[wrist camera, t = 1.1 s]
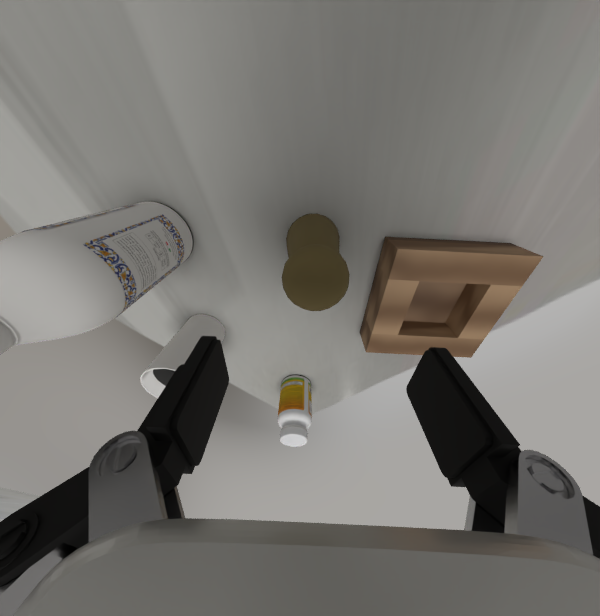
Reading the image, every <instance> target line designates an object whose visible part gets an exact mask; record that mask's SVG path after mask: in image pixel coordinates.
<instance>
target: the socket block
mask: <svg viewBox="0 0 600 616" xmlns="http://www.w3.org/2000/svg"><path fill="white" fill-rule="evenodd" d="M542 258H543V256H541V255H538V254H536V253H533V252H531V251H528V250H526V249H524V248H521V247H519V246H516V245H514V244H511V243H495V242H476V241H456V240H437V239H418V238H399V237H385V240H384V244H383V247H382V251H381V255H380V259H379V262H378V266H377V270H376V274H375V277H374V281H373V285H372V289H371V292H370V296H369V300H368V304H367V307H366V311H365V315H364V319H363V322H362V326H361V330H360V334H361V338H362V341H363V344H364V347H365V350H366V352H373V353H393V354H412V355H423V354H424V352H425V351H426V350H428V349H429V348H430V347H439V348H446V349H447V350H448V351H449V352H450V353H451V355H452V356H453V357H472V355H473V354H474V353H475V351H476V350H477V348H478V347H479V346H480V344H481V343H482V341H483V340H484V338H485V337H486V336H487V335H488V333H489V332H490V330H491V329H492V328H493V326H494V325H495V323H496V322H497V321H498V319H499V318H500V316H501V315H502V314H503V312H504V311H505V309H506V308H507V307H508V305H509V304H510V302H511V301H512V300H513V298H514V297H515V295H516V294H517V293H518V291H519V290H520V288H521V287H522V286H523V284H524V283H525V281H526V280H527V279H528V277H529V276H530V274H531V273H532V272H533V270H534V269H535V267H536V266H537V265H538V263H539V262H540V261H541V259H542Z"/></svg>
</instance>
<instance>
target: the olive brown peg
mask: <svg viewBox="0 0 600 616" xmlns="http://www.w3.org/2000/svg"><path fill="white" fill-rule="evenodd" d="M286 241H287V250H288V257H289V259H288V260H287V262H286V263H285V266H284V270H283V274H282V283H283V288H284V290H285V293H286V295H287V297H288V298H289V299H290V300H291V301H292V302H293V303H294V304H295V305H297V306H299V307H301V308H303V309H306V310H310V311H321V310H325V309H328V308H330V307H332V306H333V305H335V304H337V303H338V302H339V301H340V300H341V299H342V298H343V296H344V295H345V293H346V291H347V288H348V285H349V271H348V267H347V264H346V262H345V260H344V259H343V258H342V256H341V255H340V254H339V233H338V230H337V228H336V226H335V225H334V223H333V222H332V221H331V220H330V219H328V218H327V217H326V216H323V215H320V214H307V215H304V216H302V217H299V218H298V219H297V220H296V221H295V222H294V223H293V224H292V225H291V227H290V229H289V230H288V234H287V238H286Z"/></svg>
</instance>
